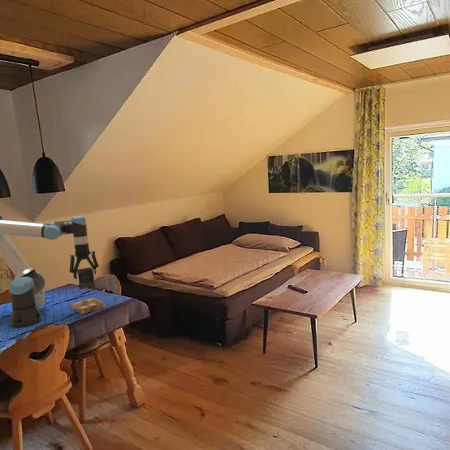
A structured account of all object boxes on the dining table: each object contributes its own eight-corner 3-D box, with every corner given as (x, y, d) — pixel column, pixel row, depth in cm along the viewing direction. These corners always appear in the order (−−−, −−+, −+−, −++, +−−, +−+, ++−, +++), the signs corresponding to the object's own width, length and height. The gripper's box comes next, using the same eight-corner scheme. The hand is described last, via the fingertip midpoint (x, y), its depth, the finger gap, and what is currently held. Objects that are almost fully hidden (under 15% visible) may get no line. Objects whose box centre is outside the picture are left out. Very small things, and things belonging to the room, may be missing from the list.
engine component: (32, 302, 251) (24, 307, 241) (27, 270, 248) (20, 274, 238) (49, 301, 251) (43, 306, 241) (45, 269, 248) (38, 273, 238)
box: (92, 284, 236) (90, 267, 235) (94, 286, 231) (92, 269, 230) (78, 286, 233) (76, 269, 231) (79, 289, 228) (77, 271, 226)
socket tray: (81, 314, 224) (81, 309, 224) (72, 308, 234) (71, 303, 234) (105, 307, 233) (104, 302, 233) (94, 302, 244) (94, 297, 243)
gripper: (64, 247, 218) (69, 287, 222) (102, 240, 232) (106, 278, 236) (59, 246, 224) (64, 285, 227) (96, 239, 238) (100, 276, 241)
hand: (85, 281), depth 231 cm, fingers closed on box, 9 cm apart
